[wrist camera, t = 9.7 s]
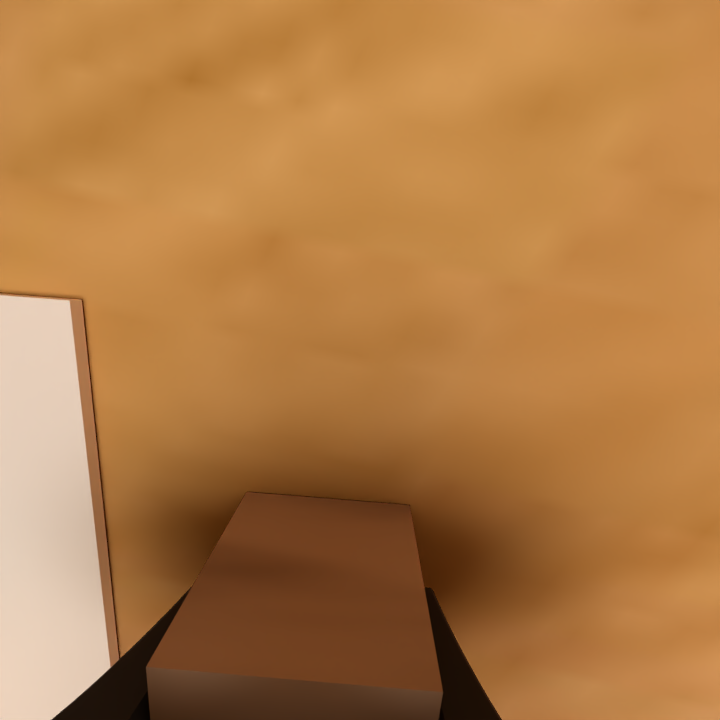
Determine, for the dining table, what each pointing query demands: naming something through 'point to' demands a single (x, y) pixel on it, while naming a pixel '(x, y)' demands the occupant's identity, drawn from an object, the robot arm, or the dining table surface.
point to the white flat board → (49, 513)
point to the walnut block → (303, 619)
